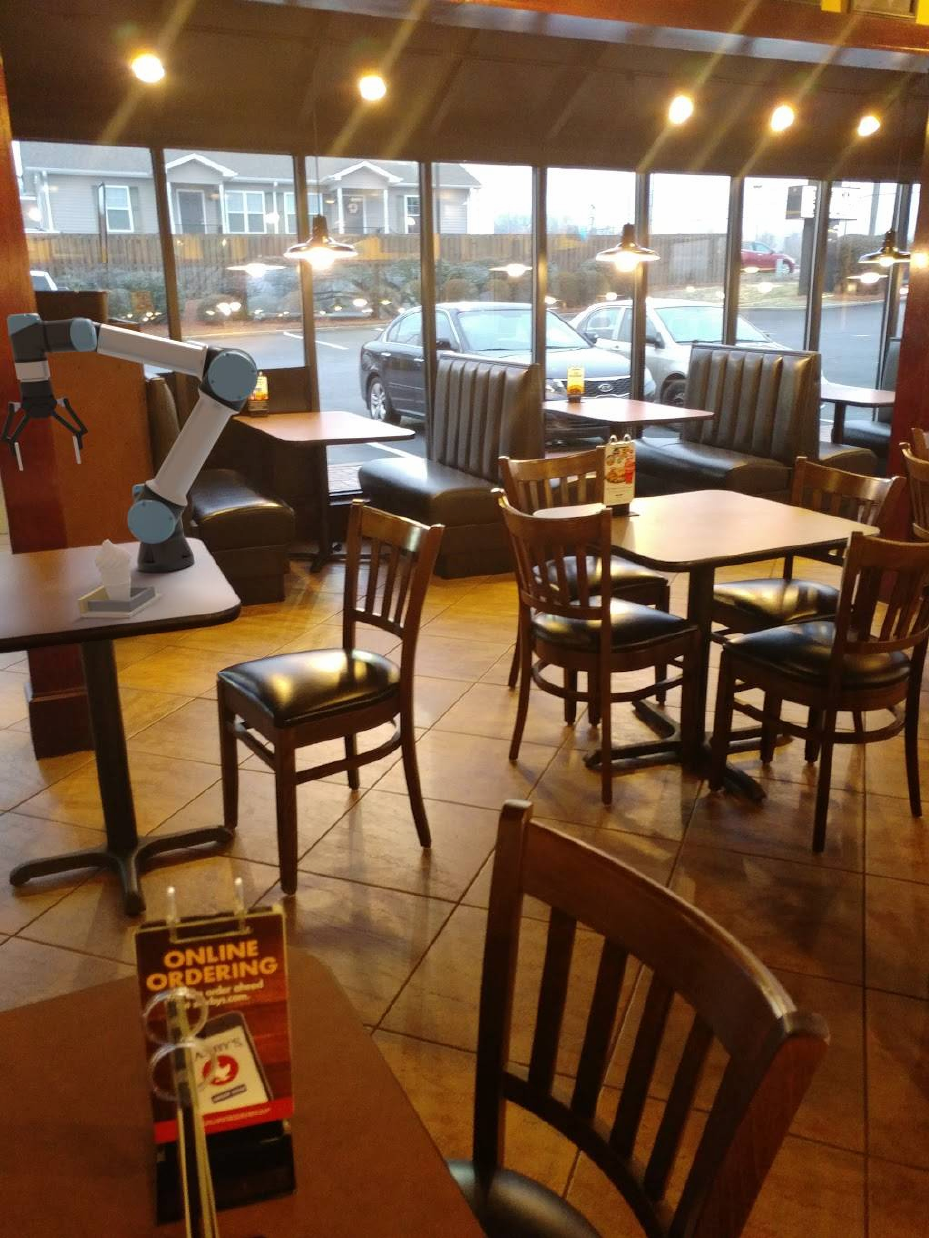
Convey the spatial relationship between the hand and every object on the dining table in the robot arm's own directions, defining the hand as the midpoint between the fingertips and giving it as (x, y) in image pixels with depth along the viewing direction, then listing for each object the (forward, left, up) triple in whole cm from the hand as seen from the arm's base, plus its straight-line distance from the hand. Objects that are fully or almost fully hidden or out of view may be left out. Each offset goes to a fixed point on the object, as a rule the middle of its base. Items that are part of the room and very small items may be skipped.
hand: (50, 466), depth 255 cm
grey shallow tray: (-9, +25, -32) cm, 41 cm away
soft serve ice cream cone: (-9, +25, -31) cm, 41 cm away
